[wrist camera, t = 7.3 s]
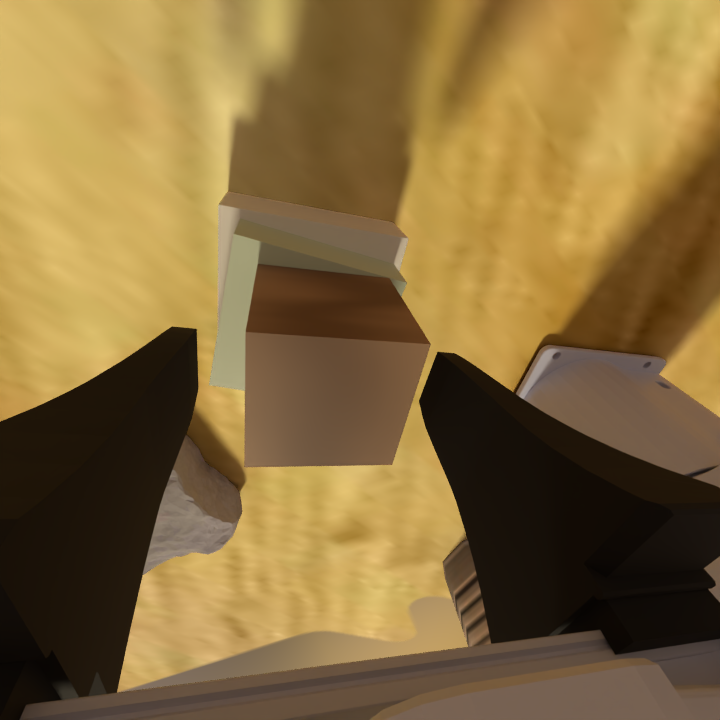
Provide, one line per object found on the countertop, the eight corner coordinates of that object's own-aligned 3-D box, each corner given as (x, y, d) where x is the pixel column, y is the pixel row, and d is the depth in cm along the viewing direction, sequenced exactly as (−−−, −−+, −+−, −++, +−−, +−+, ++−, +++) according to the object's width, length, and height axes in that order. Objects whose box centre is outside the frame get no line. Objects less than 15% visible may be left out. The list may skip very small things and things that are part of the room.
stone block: (-7, 448, 22) (95, 556, 26) (-84, 509, 18) (53, 626, 22) (180, 379, 22) (253, 498, 26) (149, 423, 18) (243, 557, 22)
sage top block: (393, 263, 15) (407, 282, 13) (347, 380, 18) (354, 407, 16) (240, 218, 13) (233, 233, 11) (217, 356, 16) (209, 384, 14)
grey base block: (390, 219, 17) (408, 238, 14) (359, 348, 20) (368, 381, 18) (229, 189, 15) (218, 204, 13) (226, 336, 19) (217, 370, 16)
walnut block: (389, 277, 13) (430, 344, 9) (366, 380, 15) (391, 464, 12) (257, 263, 12) (245, 331, 8) (254, 375, 14) (244, 467, 11)
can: (557, 508, 33) (671, 674, 23) (545, 566, 40) (629, 715, 30) (436, 542, 33) (500, 724, 23) (443, 595, 40) (496, 754, 30)
